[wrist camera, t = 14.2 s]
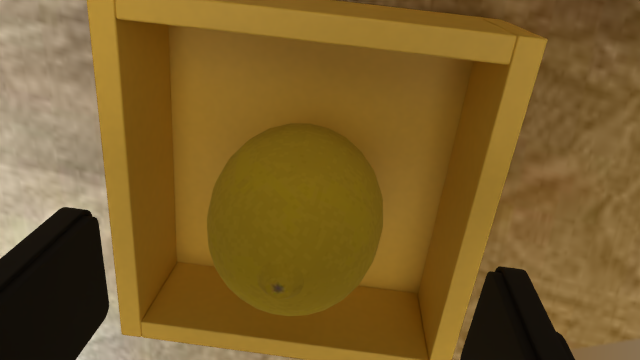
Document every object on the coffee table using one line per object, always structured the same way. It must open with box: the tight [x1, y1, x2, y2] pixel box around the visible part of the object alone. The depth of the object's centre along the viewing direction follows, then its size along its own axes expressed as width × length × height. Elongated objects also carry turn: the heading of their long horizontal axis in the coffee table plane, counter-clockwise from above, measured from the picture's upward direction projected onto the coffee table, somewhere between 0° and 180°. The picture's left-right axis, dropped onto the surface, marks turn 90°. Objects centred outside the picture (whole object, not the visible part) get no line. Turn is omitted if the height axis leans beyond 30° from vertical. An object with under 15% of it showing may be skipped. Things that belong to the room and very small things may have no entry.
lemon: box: [207, 123, 383, 316], centre depth 15 cm, size 6×6×8 cm
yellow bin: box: [87, 0, 547, 360], centre depth 17 cm, size 13×13×5 cm
